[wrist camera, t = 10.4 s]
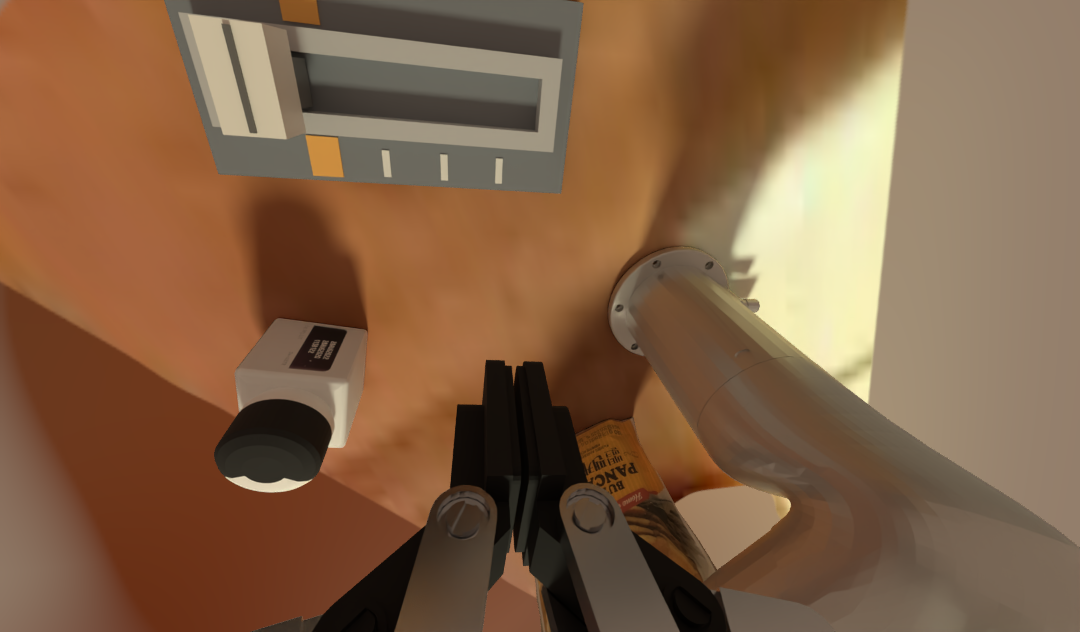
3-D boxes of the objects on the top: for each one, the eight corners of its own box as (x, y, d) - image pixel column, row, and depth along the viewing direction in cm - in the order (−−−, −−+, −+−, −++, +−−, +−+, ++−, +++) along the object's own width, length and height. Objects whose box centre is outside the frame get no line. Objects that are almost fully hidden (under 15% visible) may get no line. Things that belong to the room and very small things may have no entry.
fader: (305, 35, 23) (259, 23, 18) (321, 127, 26) (285, 139, 21) (249, 28, 23) (185, 13, 18) (271, 123, 25) (221, 135, 20)
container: (275, 315, 35) (187, 426, 24) (368, 328, 37) (327, 434, 26) (279, 382, 38) (204, 504, 27) (363, 390, 40) (326, 506, 29)
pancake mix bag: (653, 431, 51) (813, 731, 28) (529, 492, 54) (578, 815, 30) (636, 400, 48) (802, 715, 24) (503, 468, 50) (537, 812, 27)
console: (575, 7, 27) (589, -1, 24) (556, 187, 33) (564, 198, 30) (168, -54, 22) (122, -74, 19) (233, 168, 28) (206, 179, 25)
